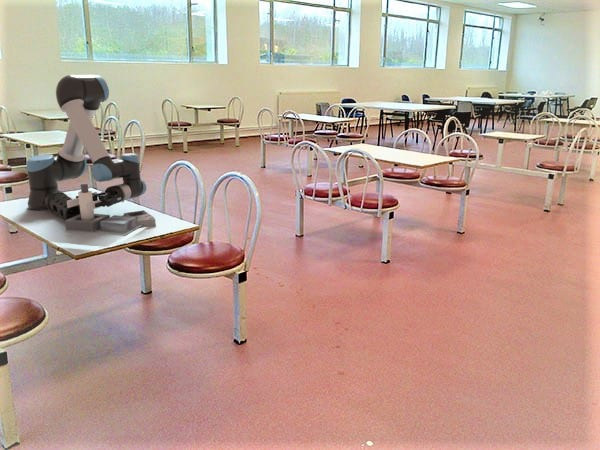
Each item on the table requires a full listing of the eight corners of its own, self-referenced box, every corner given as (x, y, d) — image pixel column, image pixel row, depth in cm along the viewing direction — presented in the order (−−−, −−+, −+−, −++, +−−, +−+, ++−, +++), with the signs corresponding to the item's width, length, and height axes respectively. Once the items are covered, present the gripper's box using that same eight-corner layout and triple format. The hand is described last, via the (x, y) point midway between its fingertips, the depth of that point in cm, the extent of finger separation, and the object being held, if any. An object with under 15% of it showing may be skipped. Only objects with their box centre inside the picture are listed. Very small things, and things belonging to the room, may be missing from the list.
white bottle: (86, 223, 211) (82, 183, 206) (97, 224, 210) (93, 183, 205) (79, 227, 206) (74, 185, 202) (90, 228, 205) (86, 186, 201)
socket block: (84, 224, 216) (83, 212, 214) (110, 226, 213) (109, 214, 212) (66, 232, 204) (64, 220, 203) (93, 235, 202) (92, 223, 200)
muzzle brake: (92, 221, 219) (66, 227, 213) (69, 207, 239) (45, 212, 233) (88, 200, 216) (62, 205, 209) (65, 187, 236) (41, 192, 229)
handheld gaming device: (135, 229, 211) (135, 220, 210) (124, 221, 222) (123, 212, 221) (157, 226, 216) (156, 217, 215) (144, 218, 227) (144, 209, 226)
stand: (115, 226, 213) (114, 215, 211) (137, 228, 211) (136, 217, 209) (101, 234, 203) (100, 221, 202) (124, 236, 201) (123, 223, 200)
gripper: (139, 205, 219) (101, 218, 199) (98, 199, 227) (57, 211, 207) (137, 187, 217) (99, 199, 197) (96, 182, 224) (55, 193, 204)
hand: (77, 205), depth 202 cm, fingers open, 9 cm apart
